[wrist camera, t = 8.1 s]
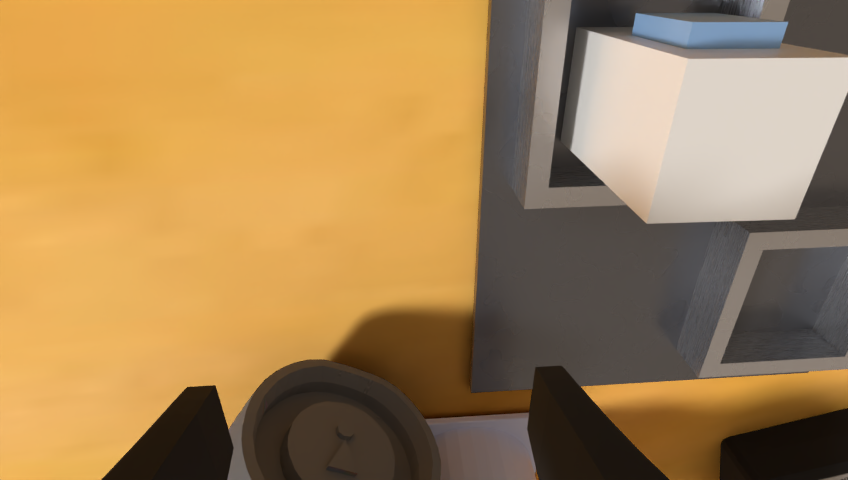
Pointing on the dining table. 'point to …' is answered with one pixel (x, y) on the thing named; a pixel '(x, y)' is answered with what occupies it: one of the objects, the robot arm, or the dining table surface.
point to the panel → (641, 231)
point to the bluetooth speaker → (331, 428)
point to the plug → (702, 115)
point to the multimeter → (790, 451)
